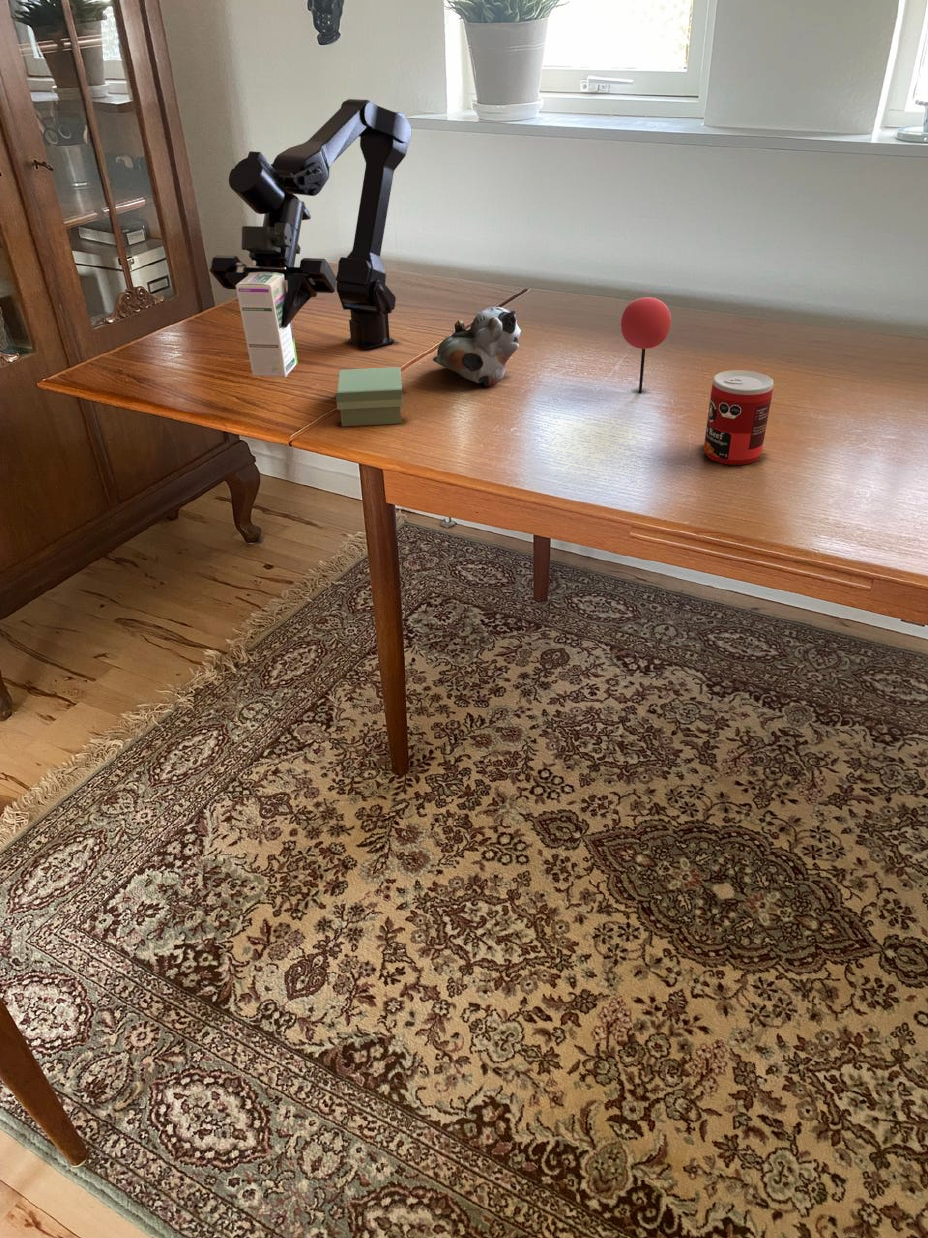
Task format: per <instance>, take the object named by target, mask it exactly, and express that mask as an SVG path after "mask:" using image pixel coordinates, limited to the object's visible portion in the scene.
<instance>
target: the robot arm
mask: <svg viewBox="0 0 928 1238" xmlns="http://www.w3.org/2000/svg"><path fill="white" fill-rule="evenodd" d="M412 131H413V130H412V125H411V122H410V121H409V120H408V118H407V116H406V114H404V113H403V112H399V111H393V110H390V109H387V108H386V107H385V108H384V107H382V106H379V105H377V104H376V103H374V102H373V101H370V100H369V99H361V98H359V99H358V98H357V99H356V98H348V99H345V100H344V101H343V102H342V103H341V106H340V108H339V109H338V110H337V111H336V112H335V113H334V114H333V115H332V116H331V117H330V118H329V119H328V120H327V121H325V123H324V124H323V125H322V126H321V127H320V128H319V129H318V130H317V131H316V132H315V133H314V134H313V135H312V136H311V137H310V138H309V139H308V140H306V141H305V142H303V143H300V144H297V145H294V146H289V147H288V148H286V149H285V150H284V151H282V152H280V153H278V154H277V155H276V156H275V157H274V160H273V162H272V163H271V164H270V162H269V161H268V159H267V158H266V156H265V155H264V154H263V153H262V151H253V150H252V151H250V150H249V152H248V155H247V157H246V158H243V159H241V160H240V161H238V162H237V164H236V165H234V167H233V168H231V170H230V172H229V175H228V184H229V187H230V189H231V190H232V191H233V192H234V193H235V194H236V195H237V196H238V197H239V198H240V199H241V200H242V201H243V202H244V203H245V204H246V205H247V206H248V207H249V208H250V209H251V210H252V211H253V212H255V214H259V215H263V220H262V225H261V226H258V225H257V226H256V225H255V226H253V225H243V226H241V245H240V247H241V250H242V251H247V252H249V255H248V257H249V258H250V260H251V261H254V262H255V265H247V264H245V263H243V262H242V261H241V260H240V258H239V256H237V255H222V254H221V255H220V254H219V255H214V256H213V257H212V258H211V260H210V263H209V268H208V271H209V272H210V273H211V275H212V276H213V277H214V278H215V279H216V281H217V282H218V283H219V284H220V286H221V287H222V288H223V289H227V290H236V285H237V284H238V283H239V282H240V281H241V280H243V279H244V278H245V277H247V276H248V274H249V273H250V272H251V273H253V272H275V273H282V274H284V278H285V281H287V282H286V283H287V289H286V291H287V295H286V300H285V304H284V309H283V314H282V323H281V324H282V326H283V328H286V327H287V326H288V325H289V323H290V322H291V323H292V321H293V319H294V318H295V317H296V315H297V314H298V313H299V312H300V310H301V309H302V308H303V307H304V306H305V305H306V304H307V303H308V302H309V300H310V299H311V298H317V296H318V294H334V293H335V292H336V293H337V296H338V299H339V301H340V303H341V307H342V310H345V311H346V310H348V311H349V312H350V319H349V320H348V324H349V336H350V338H348V342H349V343H351V344H352V345H355V346H357V347H359V348H361V349H362V350H368V351H369V350H371V349H376V348H379V347H383V346H387V345H388V346H389V345H392V344H395V339H393V338H392V337H390V324H389V323H390V321H389V314H391V313H393V310H395V308H396V300H397V297H396V296H395V294H394V293H393V291H391V290H390V289H389V287H388V286H387V285H386V282H387V281H386V279H387V272H386V270H385V267H384V264H383V261H382V258H381V252H382V246H383V240H384V235H385V228H386V223H387V216H388V212H389V211H388V210H389V204H390V199H391V191H392V186H393V180H394V173H395V170H396V169H397V168H398V167H399V165H400V164H401V163H402V161H403V160H404V159H405V158H406V157H407V152H408V148H409V144H410V140H411V138H412ZM358 138H359V148H360V150H361V153H362V157H363V159H364V163H365V167H364V175H363V181H362V187H361V194H360V199H359V207H358V213H357V219H356V225H355V231H354V239H353V245H352V249H351V251H350V252H349V254H348V255H347V257H343V256H341V257H340V258H339V260H338V262H337V263H338V265H337V272H336V274H335V272H334V271H333V269H332V267H331V265H330V264H329V262H328V261H327V260H326V259H325V258H317V257H316V258H314V257H313V258H312V257H303V258H302V259H300V261H299V262H300V263H299V266H295V262H296V257H297V255H300V254H301V246H300V245H299V240H300V233H301V227H302V222H303V221H309V220H311V218H312V216H311V214H310V211H309V209H308V208H307V207H306V204H305V202H304V200H303V201H301V200H300V199H299V197H298V196H297V195H299V196H307V197H316V196H317V195H318V194H320V192H321V191H322V189H324V187H325V185H326V183H327V182H328V181H329V178H330V168H331V166H332V165H333V164H334V163H335V162H336V160H337V159H338V158H339V157H340V156H341V155H342V154H343V153H344V152H345V151H346V150H347V149H348V148H349V147H350V146H351V145H352V144H353V143H354V142H355V140H357V139H358Z"/></svg>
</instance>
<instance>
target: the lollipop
mask: <svg viewBox="0 0 928 1238" xmlns="http://www.w3.org/2000/svg"><path fill="white" fill-rule="evenodd" d="M671 316H672V315H671V312H670V310H669V308H668V306H667V305H666V304H665V302H663V301H662V300H660V299H658V298H655V297H651V296H645V297H638V298H636V299H634V300H632V301H631V302H630V303H628V305H626V307H625V309H624V310H623V312H622V316H621V319H620V330H621V335H622V336H623V338H624V340H625V341H626V343H627V344H629V345H630V346H632V347H633V348H636V349H641V355H640V356H641V357H640V371H639V383H638V391H637V392H638V393H643V382H644V371H645V357H646V350H647V349H654V348H656V347H658V346H660V345H661V344H662V343H663V342H664V341H665V340H666V338H667V337H668V334H669V333H670V330H671V326H672V317H671Z"/></svg>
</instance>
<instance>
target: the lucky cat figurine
mask: <svg viewBox="0 0 928 1238" xmlns="http://www.w3.org/2000/svg"><path fill="white" fill-rule="evenodd" d="M465 325H466V324H465V322H464V321H462V320H460V319H458V320H457V321H456V323H454V332H453V333H451V335H449V336H446V337H445V338H443V339H442V340H441V342H440V344H439V345H438V348H437V352H436V356H434V357H432V361H433V362H434V363H436V364H437V365H439V366H442V367H443V368H446V369H448V370H451V371H453V372H455V373H457V374H458V375H459V376H461V377H463V378H464V379H466V380H468V381H471V382H473V383H475V384H481V383H483V385H484V386H485V387H492V386H493V385H495V384H497V383H498V382H499V381H502V380H503V378H504V376H505V373H506V364H507V362H508V361H509V359H510V358H511V357H512V356H513V354H514V353H515V352H516V351H517V350H518V349H519V347H520V343H519V338H520V336H521V333H522V330H521V328H520V327H519V326H518V321H517V310H515V309H513V310H510V311H509V309H507V308H504V307H501V306H488V307H487V308H484V309H483V310H481V311H479V312H477V314H476V316H475V317H474V319H473V320H472V322H471V324H470V328H468V329H467V328H466V326H465Z"/></svg>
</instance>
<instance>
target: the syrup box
mask: <svg viewBox="0 0 928 1238" xmlns="http://www.w3.org/2000/svg"><path fill="white" fill-rule="evenodd" d="M235 290H236V295H237V300H238V305H239V311H240V316H241V321H242V327H243V331H244V337H245V343H246V348H247V353H248V359H249V364H250V369H251V373H252V376H254V377H255V376H256V377H263V378H264V377H265V378H287V377H288V375H289V374H290V373H291V372H292V371H293V369H294V368H295V367H296V366H297V365H298V363H299V361H298V355H297V349H296V343H295V338H294V329H293V323H292V321H291V322H290V323H289V325H288V326H287V327H286V328H283V326H282V324H281V323H282V314H283V309H284V304H285V300H286V295H287V286H286V280H285V278H284V274H282V273H275V272H253V273H251V272H250V273H249V274H248V276H247V277H245V278H244V279H243V280H241V281H240V282H239V283H238V284H237V285H236V289H235Z"/></svg>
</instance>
